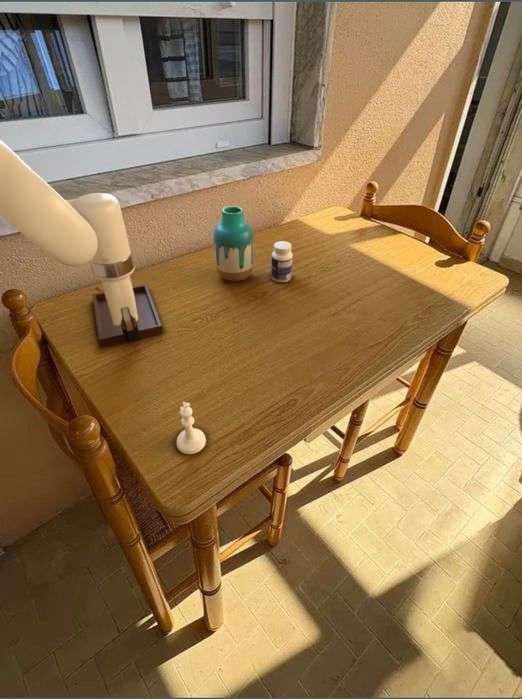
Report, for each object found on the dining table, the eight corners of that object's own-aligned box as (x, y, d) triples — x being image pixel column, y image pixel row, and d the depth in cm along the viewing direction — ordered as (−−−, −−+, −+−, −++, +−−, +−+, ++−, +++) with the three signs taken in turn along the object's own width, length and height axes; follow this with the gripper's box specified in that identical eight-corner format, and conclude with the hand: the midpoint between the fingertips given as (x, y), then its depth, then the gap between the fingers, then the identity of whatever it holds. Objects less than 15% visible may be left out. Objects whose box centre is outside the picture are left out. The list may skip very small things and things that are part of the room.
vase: (216, 288, 102) (211, 218, 90) (215, 269, 110) (210, 202, 98) (255, 286, 103) (256, 217, 91) (251, 267, 111) (251, 201, 99)
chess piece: (171, 440, 65) (161, 401, 58) (194, 425, 68) (188, 386, 61) (187, 459, 62) (179, 420, 56) (211, 442, 65) (206, 403, 58)
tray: (101, 347, 83) (98, 339, 82) (94, 301, 97) (92, 294, 96) (163, 332, 87) (161, 325, 86) (148, 290, 101) (146, 283, 100)
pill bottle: (269, 273, 109) (270, 240, 102) (289, 272, 109) (291, 239, 103) (272, 283, 105) (273, 250, 98) (292, 282, 105) (295, 249, 99)
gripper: (88, 250, 76) (111, 324, 88) (94, 287, 65) (119, 365, 77) (127, 244, 78) (144, 316, 90) (139, 279, 67) (156, 356, 79)
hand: (132, 339), depth 84 cm, fingers closed
